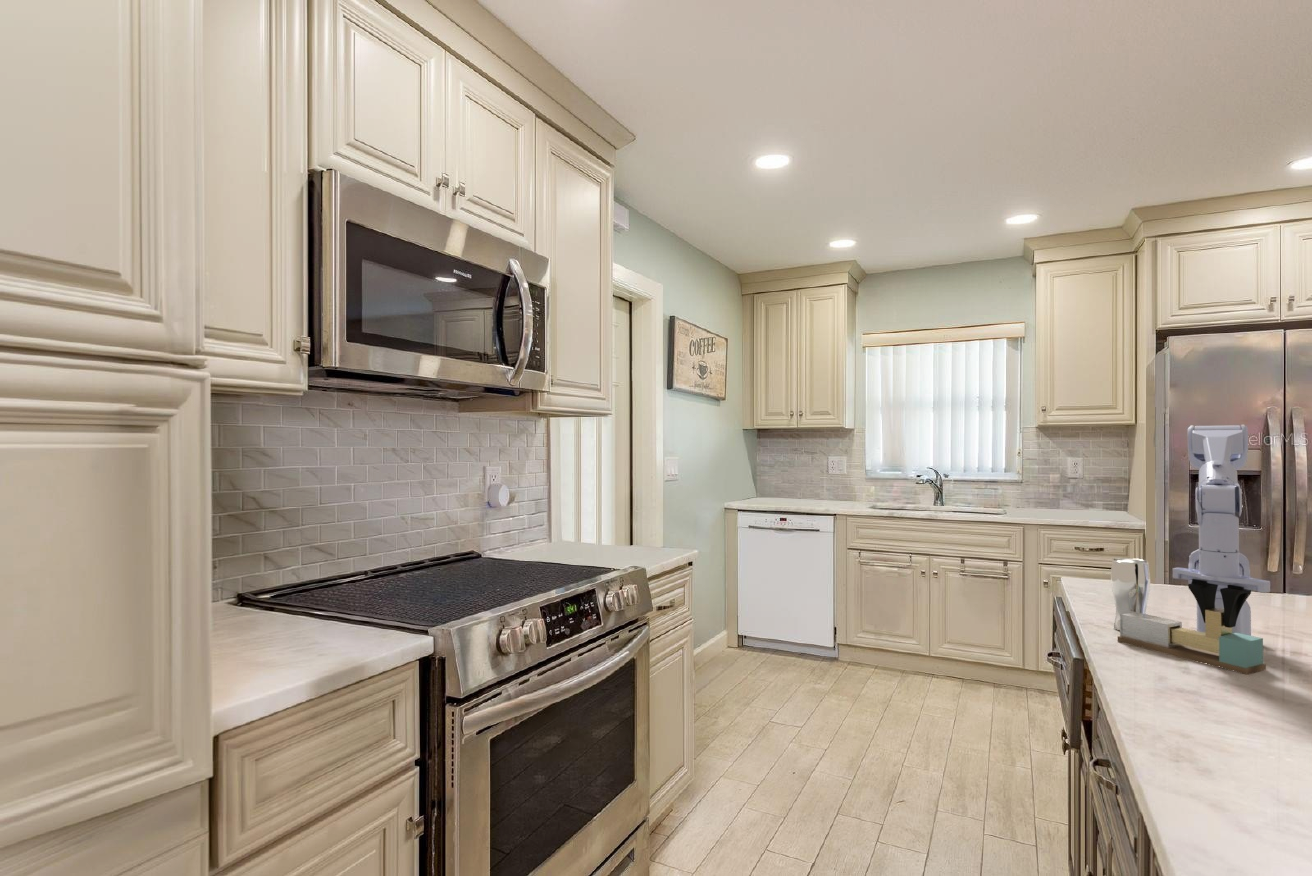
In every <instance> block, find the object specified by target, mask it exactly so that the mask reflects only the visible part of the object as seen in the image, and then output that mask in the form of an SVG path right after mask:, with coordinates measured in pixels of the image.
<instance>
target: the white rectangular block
mask: <svg viewBox="0 0 1312 876" xmlns="http://www.w3.org/2000/svg"><path fill="white" fill-rule="evenodd" d="M1182 623H1183V622H1182V621H1179V620H1175V619H1170V618H1165V617H1160V616H1156V615H1151V614H1142V613H1138V612H1128V613H1122V614H1120V631H1119V636H1122V637H1126V638H1130V639H1134V640H1138V641H1142V642H1146V643H1150V644H1154V645H1158V646H1162V647H1166V648H1171V647H1175V646H1180V645H1181V644H1177V643H1173V642H1170V627H1174V626H1177V627H1181V628H1183V625H1182Z"/></svg>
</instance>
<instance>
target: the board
mask: <svg viewBox="0 0 1312 876" xmlns="http://www.w3.org/2000/svg"><path fill="white" fill-rule="evenodd" d="M1117 642H1119V643H1123V644H1127V645H1131V646H1134V647H1138V648H1140V649H1141V648H1142V649H1146V650H1149V651H1153V652H1157V653H1161V654H1166V655H1170V656H1173V657H1177V658H1180V659H1181V658H1182V659H1185V660H1189V661H1194V662H1196V661H1198V662H1197V663H1200V662H1202V663H1201V664H1204V663H1207V664H1206V665H1208V664H1210V665H1209V666H1212V665H1213V666H1212V667H1216V666H1220V667H1223V668H1222V669H1224V668H1226V669H1225V670H1228V669H1229V670H1228V671H1231V670H1234V671H1233V672H1235V671H1237V672H1236V673H1239V672H1240V673H1239V674H1244V675H1249V674H1250V675H1251V674H1256V673H1259V672H1262V671H1266V670H1267V664H1266V663H1264V662H1263V664H1260V665H1256V666H1252V667H1248V668H1243V667H1239V666H1235V665H1231V664H1227V663H1223V662H1219V654H1218V653H1214V652H1210V651H1206V650H1202V649H1198V648H1193V647H1189V646H1185V645H1180V646H1175V647H1171V648H1166V647H1162V646H1158V645H1154V644H1150V643H1146V642H1142V641H1138V640H1134V639H1130V638H1126V637H1122V636H1120V635H1118V636H1117ZM1220 667H1219V668H1220Z"/></svg>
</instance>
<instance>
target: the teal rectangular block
mask: <svg viewBox="0 0 1312 876" xmlns="http://www.w3.org/2000/svg"><path fill="white" fill-rule="evenodd" d="M1219 662H1223V663H1227V664H1231V665H1235V666H1239V667H1243V668H1248V667H1252V666H1256V665H1260V664H1263V663H1264V638H1263V637H1258V636H1253V635H1251V636H1250V635H1245V634H1240V633H1233V634H1228V635H1223V636H1219Z"/></svg>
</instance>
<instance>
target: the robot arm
mask: <svg viewBox="0 0 1312 876" xmlns="http://www.w3.org/2000/svg"><path fill="white" fill-rule="evenodd" d="M1186 433H1187V436H1186V437H1187V440H1186V441H1187V452H1188V461H1189V463H1190V466H1191V467H1193V468H1196V469H1197V470H1198V487H1196V488H1195V512H1196V515H1197V524H1198V549H1196V550H1194V551H1192V552H1191V553H1190V554H1189V556H1188V557H1189V559H1188V568H1185V567H1172V579H1176V580H1186V581H1187V580H1188V581H1187V582H1188V584H1187V587H1188V590H1189V592H1191V594H1192V595H1193V597H1194V599H1195V600H1196V631H1199V632H1204V633H1205V610H1207V609H1212V608H1220V609H1224V625H1225V627H1228V628H1231V627H1232V634H1233V633H1240V634H1245V635H1250V636H1252V610H1251V605H1250V603H1249V602H1248V601H1247V599H1248V598H1249V596H1250V595H1251V594H1252V591H1255V592H1257V593H1263V594H1266V593H1270V592H1271V580H1265V579H1261V578H1254V577H1251V568H1250V560H1249V559H1248V557H1247V556H1246V555H1244V554H1243V553H1242V552H1240V525H1239V524H1240V517H1241V515H1242V513H1243V512H1242V511H1243V497H1242V496H1243V494H1242V487H1241V486H1240V484H1239V483H1238V482H1239V481H1238V471H1237V470H1239V469H1242V468H1244V467H1246V463H1247V462H1248V453H1249V428H1248V426H1247V425H1245V424H1240V425H1238V424H1237V425H1195V426H1194V425H1193V424H1190V426H1189V427H1188V428H1187V432H1186ZM1236 513H1237V514H1238V516H1239V517H1238V516H1237V515H1236Z"/></svg>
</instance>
